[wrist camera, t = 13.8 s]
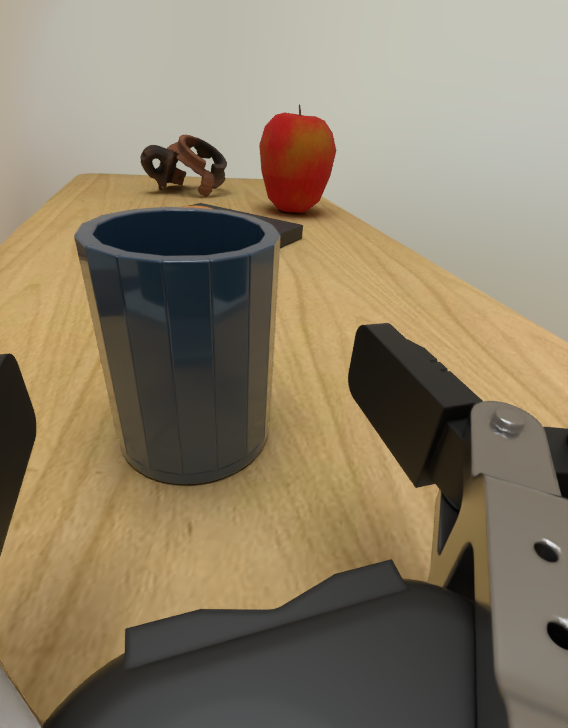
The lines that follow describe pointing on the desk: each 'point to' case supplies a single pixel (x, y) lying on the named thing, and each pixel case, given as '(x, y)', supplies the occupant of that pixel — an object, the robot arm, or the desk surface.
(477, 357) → the desk surface
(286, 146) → the apple
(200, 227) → the cup
